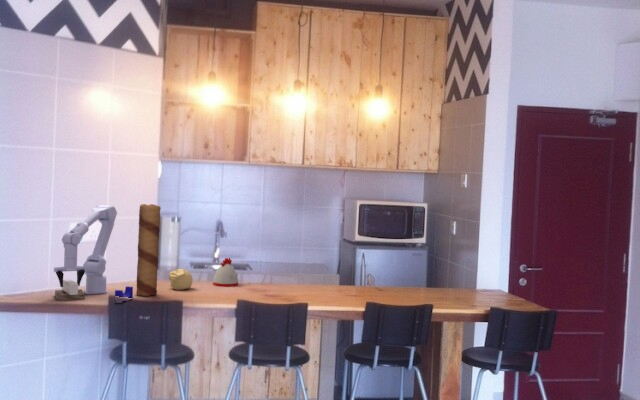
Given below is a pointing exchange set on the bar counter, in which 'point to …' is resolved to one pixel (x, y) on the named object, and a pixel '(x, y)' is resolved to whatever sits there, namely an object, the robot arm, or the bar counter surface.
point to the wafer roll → (148, 249)
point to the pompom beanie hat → (225, 275)
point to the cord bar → (70, 287)
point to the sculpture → (180, 279)
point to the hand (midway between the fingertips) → (69, 286)
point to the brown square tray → (65, 296)
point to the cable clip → (127, 292)
